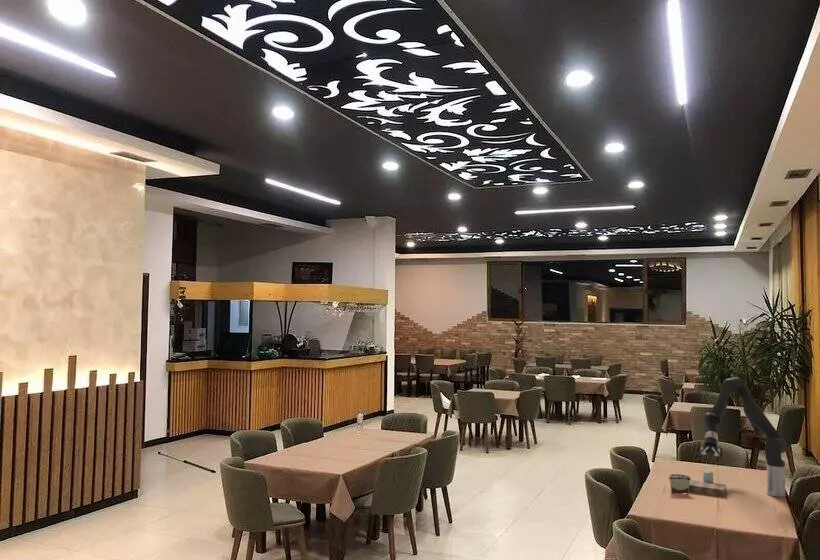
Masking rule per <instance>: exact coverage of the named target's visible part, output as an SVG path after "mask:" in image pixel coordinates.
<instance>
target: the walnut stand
mask: <svg viewBox="0 0 820 560" xmlns="http://www.w3.org/2000/svg"><path fill="white" fill-rule="evenodd" d="M689 491H690V492H689V493H693V492H696V493H695V494H700V493H701V495H708V496H713V497H714V496H715V497H720V496H721V497H722V498H725V497H726V492H727V485H726V484H725V483H717V482H713V483H710V482H703V480H702V481H701V480H694V479H691V481H690V484H689ZM724 496H725V497H724Z"/></svg>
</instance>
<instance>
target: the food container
mask: <svg viewBox="0 0 820 560" xmlns="http://www.w3.org/2000/svg"><path fill="white" fill-rule="evenodd" d="M668 480H669V481H670V482H669V483H670V490H671V491H670V492H671V494H672V493H687V494H686V495H689V493H690V492H689V484H690V481H691V480H692V479H691V476H689V475H686V474H681V473H680V474H679V473H678V474H675V473H673V474H670V475H669V476H668Z"/></svg>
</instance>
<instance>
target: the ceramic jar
mask: <svg viewBox="0 0 820 560" xmlns="http://www.w3.org/2000/svg"><path fill="white" fill-rule="evenodd" d="M702 477H703V478H702V481H703V482H710V483H714V472H713V471H710V470H703V472H702Z"/></svg>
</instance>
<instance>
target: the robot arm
mask: <svg viewBox="0 0 820 560" xmlns="http://www.w3.org/2000/svg"><path fill="white" fill-rule="evenodd" d="M749 391H750V390H748V388H747V386H746V385H745V383H744V381H743V380H742V379H741V378H740V377H738V376H736V377H730V378H729V377H728V378H726V379H725V380H724V381H723V382H722V384H721V387H720V390H719V394H718V396H717V399H716V401H715V402H714V404H713V407H712V408H711V412H706V413H704V415H703V422H704V425H705V435H704V444H703V446H702V445H698V448H697V455H698V456H699V457H700V458H699V459H700V461H701V462H703V461H704V456H705V455H714V456H715V457H716V460H715V461H716V464H719V463H720V459H723V457H724V456H723V453H724V452H723V447H720V448H718V442H719V436H718V433H719V428H718V427H719V426H721V424H722V421H723V420H722V419H723V415H724V413H725V412H726V410H727V407H728V399H729V397H730V396H731V395H732V394H734V393H735V394H736V393H737V394H738V396H739V398H740V399H741V401H742V408H743V413H744V415H745V416H746V417H747V419H748V420H749V422H750V423H751V424H752V425H753V426H754V427H755V428H757V429H758V430H759V431H761V432H762V433H763V435H764V436H765V437H766V438H767V439H766V440H765V441H764V443H765V444H764V452H765V455H764V457H765V460H766V469H767V470H766V484H767V485H766V493H767V495H769V496H771V497H778V498H786V462H785V461H784V460H783V459H782V454H784V453H786V452H787V451H788V443H787V441H786V440H785V438H783V436H782V435H781V434H780V433H779V432H778V431H777V430H776V428H775V427H774V425H773V424H772V423H771V421H770V420H769V419H768V417H767V416H766V414H765V413H764V411H763V410H762V409H761V407H760V406H759V405H758V403H757V401H755V399H754V398H753V396H752V394H751V393H750V392H749ZM718 452H719V453H720V454H719V453H718Z"/></svg>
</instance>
